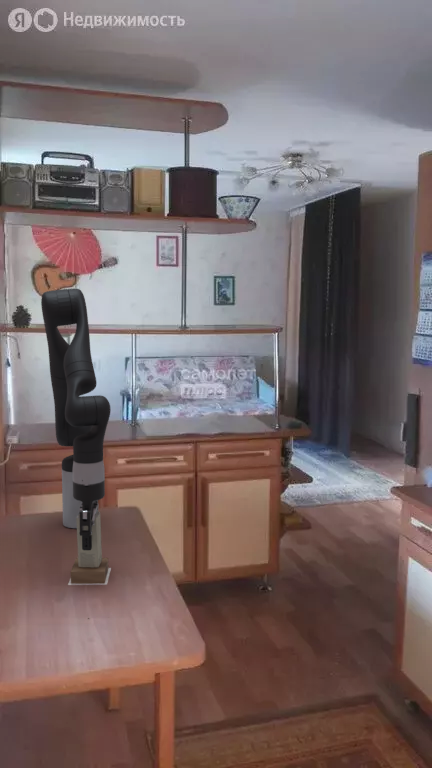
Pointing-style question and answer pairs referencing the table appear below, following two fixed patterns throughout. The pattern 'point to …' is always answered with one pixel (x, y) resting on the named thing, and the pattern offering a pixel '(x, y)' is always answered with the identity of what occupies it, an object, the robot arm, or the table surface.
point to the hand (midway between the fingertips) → (89, 542)
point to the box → (95, 554)
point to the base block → (89, 573)
